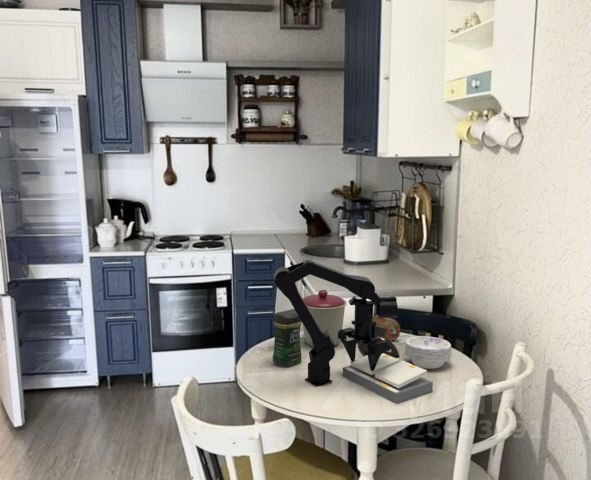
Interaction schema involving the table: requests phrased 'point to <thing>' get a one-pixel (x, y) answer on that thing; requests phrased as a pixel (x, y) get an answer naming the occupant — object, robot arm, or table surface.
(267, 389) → the table surface
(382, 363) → the rocker left
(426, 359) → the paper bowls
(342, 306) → the canister
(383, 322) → the tin
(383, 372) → the rocker right
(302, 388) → the table surface
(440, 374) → the table surface
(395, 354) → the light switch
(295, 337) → the coffee jar
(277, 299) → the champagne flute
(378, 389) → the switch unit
